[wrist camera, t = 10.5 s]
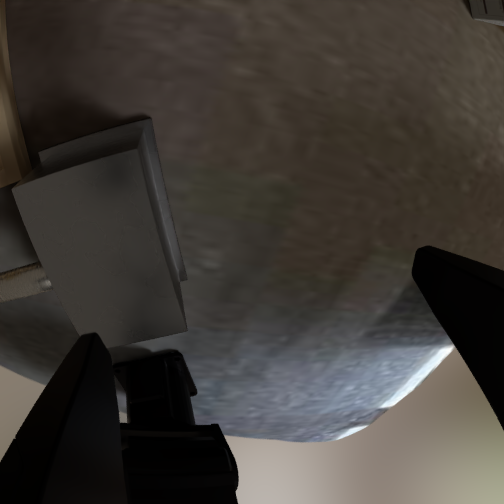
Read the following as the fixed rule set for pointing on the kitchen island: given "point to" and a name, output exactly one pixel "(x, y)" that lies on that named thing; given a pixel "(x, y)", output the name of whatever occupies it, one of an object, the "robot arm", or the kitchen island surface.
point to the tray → (9, 119)
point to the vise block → (103, 236)
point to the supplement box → (488, 11)
